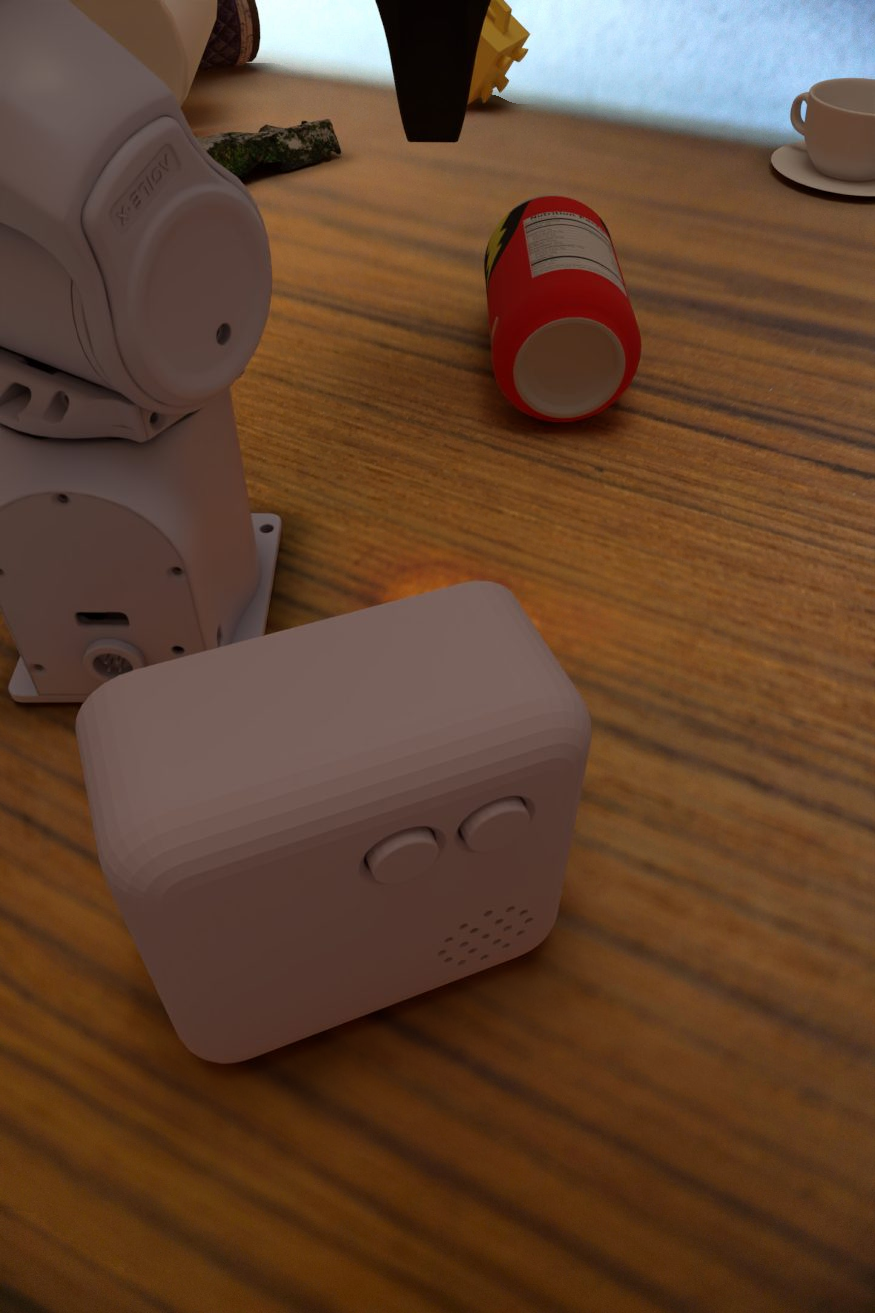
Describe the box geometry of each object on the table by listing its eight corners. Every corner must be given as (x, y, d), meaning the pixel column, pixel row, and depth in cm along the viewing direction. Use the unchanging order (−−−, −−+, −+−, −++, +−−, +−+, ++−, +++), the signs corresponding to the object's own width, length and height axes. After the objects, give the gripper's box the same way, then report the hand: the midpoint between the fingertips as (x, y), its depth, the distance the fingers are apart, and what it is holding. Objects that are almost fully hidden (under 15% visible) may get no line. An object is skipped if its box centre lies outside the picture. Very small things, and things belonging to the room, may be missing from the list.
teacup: (954, 177, 64) (983, 98, 60) (873, 217, 59) (901, 134, 56) (822, 136, 69) (842, 62, 65) (738, 170, 64) (756, 92, 61)
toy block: (499, 109, 78) (449, 58, 77) (555, 19, 71) (501, -37, 71) (451, 140, 73) (397, 86, 72) (507, 46, 67) (448, -13, 66)
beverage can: (645, 424, 42) (610, 296, 51) (645, 286, 38) (606, 170, 46) (502, 443, 43) (490, 314, 51) (485, 310, 38) (475, 192, 47)
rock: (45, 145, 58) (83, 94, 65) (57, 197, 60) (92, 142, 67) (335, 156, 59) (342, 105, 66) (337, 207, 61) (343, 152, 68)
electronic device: (197, 1105, 23) (90, 889, 16) (160, 937, 26) (56, 690, 19) (572, 959, 26) (628, 716, 18) (499, 821, 29) (523, 566, 21)
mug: (132, 74, 72) (276, 58, 77) (101, -39, 69) (253, -49, 74) (96, 102, 80) (229, 85, 85) (67, 2, 77) (206, -9, 82)
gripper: (593, -350, 24) (545, 209, 34) (548, -352, 34) (521, 80, 44) (310, -353, 24) (344, 208, 34) (348, -353, 34) (366, 79, 44)
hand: (432, 136), depth 39 cm, fingers closed
